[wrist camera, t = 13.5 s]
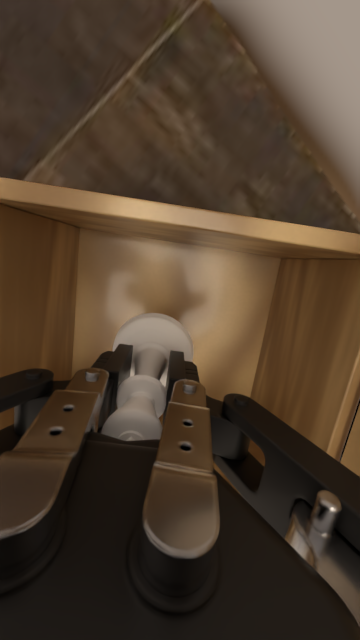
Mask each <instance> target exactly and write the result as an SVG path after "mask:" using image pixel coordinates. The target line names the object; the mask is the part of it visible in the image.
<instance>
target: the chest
mask: <svg viewBox="0 0 360 640" xmlns="http://www.w3.org/2000/svg"><path fill="white" fill-rule="evenodd" d="M145 313H160V314H164V315H167V316H170V317H172V318H174V319H175V320H177V321H178V322H180V323H181V324H182V325H183V326H184V327H185V329H186V330H187V331H188V333H189V335H190V337H191V340H192V343H193V349H194V354H193V360H192V362H193V363H194V364H195V365H196V366H197V370H198V375H199V380H200V383H201V384H202V385H203V386H204V387H205V389H206V395H207V396H209V397H211V398H213V399H216V400H220V401H223V400H224V396H225V395H227V394H230V393H237V394H242V395H245V396H248V397H250V398H251V399H253V400H254V401H256V402H257V403H258V404H260V405H261V406H263V407H264V408H265V409H267V410H268V411H269V412H271V413H272V414H274V415H275V416H276V417H278V418H279V419H281V420H282V421H283V422H285V423H286V424H287V425H289V426H290V427H292V428H293V429H294V430H296V431H297V432H298V433H300V434H301V435H303V436H304V437H305V438H307V439H308V440H310V441H311V442H312V443H314V444H315V445H316V446H318V447H319V448H321V449H322V450H323V451H325V452H326V453H327V454H329V455H330V456H332V457H333V458H334V459H336V460H337V461H338V462H339V460H340V456H341V453H342V450H343V447H344V444H345V441H346V438H347V435H348V432H349V429H350V426H351V423H352V420H353V417H354V414H355V411H356V408H357V405H358V402H359V399H360V234H356V233H350V232H343V231H337V230H331V229H324V228H318V227H312V226H305V225H299V224H293V223H287V222H280V221H274V220H268V219H261V218H255V217H249V216H242V215H236V214H230V213H223V212H217V211H211V210H204V209H198V208H192V207H186V206H179V205H173V204H167V203H160V202H154V201H148V200H141V199H135V198H129V197H122V196H116V195H110V194H104V193H97V192H91V191H85V190H78V189H72V188H66V187H59V186H53V185H47V184H40V183H34V182H28V181H21V180H15V179H9V178H3V177H0V377H3V376H7V375H10V374H13V373H16V372H20V371H23V370H27V369H33V368H42V369H47V370H50V371H52V372H53V373H54V381H64V380H71V379H72V378H73V376H74V374H75V373H76V372H77V371H78V370H81V369H84V368H91V366H92V365H93V364H94V362H96V360H97V359H98V357H99V356H100V355H101V354H102V353H104V352H106V351H112V349H113V344H114V340H115V337H116V335H117V333H118V331H119V330H120V328H121V327H122V326H123V325H124V324H125V323H126V322H127V321H129V320H130V319H132V318H133V317H136V316H138V315H141V314H145ZM159 420H160V422H161V425H162V421H163V414H162V415H161V416H160V417H159ZM12 424H14V407H13V408H11V409H8V410H6V411H4V412H1V413H0V430H1V429H3V428H6V427H8V426H10V425H12ZM162 428H163V427H162ZM248 451H249V452H250V453H251V454H252V455H253V456H254V457H255V458H256V459H257V460H258V461H259V462H260V463H261V464H262V465H263V466H264V465H265V457H264V454H263V452H262V450H261V449H260V448H259V447H258V446H257V445H256V444H255V443H254V442H253V441H252V440H250V444H249V449H248ZM212 454H213V453H212ZM213 468H214V469H215V470H216V471H217V472H218V473H219V474H220V475H221V476H222V477H223V478H224V479H225V480H226V481H227V482H228V483H229V484H230V485H231V486H232V487H233V488H234V489H235V490H236V488H235V487H234V486H233V485H232V483H231V482H230V481H229V480H228V479H227V477H226V476H225V475H224V474H223V473H222V471H221V470H220V469H219V468H218V466H217V465H216V464H215V463H214V461H213ZM236 491H237V490H236ZM237 492H238V491H237ZM238 493H239V492H238ZM239 494H240V493H239ZM240 495H241V494H240Z"/></svg>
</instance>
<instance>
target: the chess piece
mask: <svg viewBox="0 0 360 640" xmlns="http://www.w3.org/2000/svg"><path fill="white" fill-rule="evenodd" d="M119 344H127V345H133V354H132V363H131V372H130V377H129V378H127V379H125V380H124V381H123V382H122V383H121V384H120V386H119V387H118V390H117V397H116V404H117V408H118V409H117V410H116V411H115V412H114V413H113V414H111V415H110V416H109V418H108V419H107V420H106V422H105V423H104V425H103V428H102V432H101V434H104V435H107V436H111V437H114V438H117V439H120V440H124V441H136V440H152V439H159V440H160V437H161V433H162V429H163V428H162V425H161V422H160V420H159V417H160V416H161V415H162V414H163V412H164V410H165V407H166V396H167V391H166V388H165V386H166V379H167V372H168V365H169V358H170V351H171V350H172V351H180V352H184V361H190V362H192V360H193V354H194V349H193V343H192V340H191V337H190V335H189V333H188V331H187V330H186V329H185V327H184V326H183V325H182V324H181V323H180V322H178V321H177V320H175V319H174V318H172V317H170V316H167V315H164V314H160V313H145V314H141V315H138V316H136V317H133V318H132V319H130V320H129V321H127V322H126V323H125V324H124V325H123V326H122V327H121V328H120V330H119V331H118V333H117V335H116V337H115V340H114V344H113V349H112V351H115V349H116V348H117V346H118V345H119Z"/></svg>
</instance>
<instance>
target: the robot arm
mask: <svg viewBox="0 0 360 640" xmlns="http://www.w3.org/2000/svg"><path fill="white" fill-rule="evenodd" d="M132 354H133V345H127V344H119V345H118V346H117V348H116V349H115V351H106V352H104V353H102V354H101V355H100V356H99V357H98V359H97V360H96V362H94V364H93V365H92V366H91V368H84V369H81V370H78V371H77V372H76V373H75V374H74V376H73V378H72V379H71V380H64V381H54V373H53V372H52V371H50V370H47V369H42V368H33V369H27V370H23V371H20V372H16V373H13V374H10V375H7V376H3V377H0V413H1V412H4V411H6V410H8V409H11V408H13V407H14V424H12V425H10V426H8V427H6V428H3V429H1V430H0V640H360V477H359V476H358V475H356V474H355V473H354V472H352V471H351V470H350V469H348V468H347V467H345V466H344V465H343V464H341V463H340V462H338V461H337V460H336V459H334V458H333V457H332V456H330V455H329V454H327V453H326V452H325V451H323V450H322V449H321V448H319V447H318V446H316V445H315V444H314V443H312V442H311V441H310V440H308V439H307V438H305V437H304V436H303V435H301V434H300V433H298V432H297V431H296V430H294V429H293V428H292V427H290V426H289V425H287V424H286V423H285V422H283V421H282V420H281V419H279V418H278V417H276V416H275V415H274V414H272V413H271V412H269V411H268V410H267V409H265V408H264V407H263V406H261V405H260V404H258V403H257V402H256V401H254V400H253V399H251V398H250V397H248V396H245V395H242V394H237V393H230V394H227V395H225V396H224V400H223V401H220V400H216V399H213V398H211V397H209V396H207V395H206V389H205V387H204V386H203V385H202V384H201V383H200V380H199V375H198V370H197V366H196V365H195V364H194V363H193V362H190V361H184V352H180V351H172V350H171V351H170V358H169V365H168V372H167V379H166V386H165V388H166V391H167V396H166V407H165V410H164V412H163V421H162V427H163V429H162V433H161V437H160V440H159V439H152V440H136V441H124V440H120V439H117V438H114V437H111V436H107V435H104V434H101V432H102V428H103V425H104V423H105V422H106V420H107V419H108V418H109V416H110V415H111V414H113V413H114V412H115V411H116V410H117V409H118V408H117V404H116V397H117V390H118V387H119V386H120V384H121V383H122V382H123V381H124V380H125V379H127V378H129V377H130V372H131V363H132ZM250 440H252V441H253V442H254V443H255V444H256V445H257V446H258V447H259V448H260V449H261V450H262V452H263V454H264V457H265V465H264V466H263V465H262V464H261V463H260V462H259V461H258V460H257V459H256V458H255V457H254V456H253V455H252V454H251V453H250V452H249V451H248V449H249V444H250ZM212 453H213V454H212ZM213 461H214V463H215V464H216V465H217V466H218V468H219V469H220V470H221V471H222V473H223V474H224V475H225V476H226V477H227V479H228V480H229V481H230V482H231V483H232V485H233V486H234V487H235V488H236V490H237V491H238V492H239V493H240V494H241V495H240V494H239V493H238V492H237V491H236V490H235V489H234V488H233V487H232V486H231V485H230V484H229V483H228V482H227V481H226V480H225V479H224V478H223V477H222V476H221V475H220V474H219V473H218V472H217V471H216V470H215V469H214V468H213Z"/></svg>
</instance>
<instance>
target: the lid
mask: <svg viewBox="0 0 360 640" xmlns="http://www.w3.org/2000/svg"><path fill="white" fill-rule="evenodd" d="M340 463H341V464H343V465H344V466H345V467H347V468H348V469H350V470H351V471H352V472H354V473H355V474H356V475H358V476H359V477H360V405H359V408H358V411H357V414H356V417H355V420H354V423H353V426H352V429H351V432H350V435H349V438H348V441H347V444H346V447H345V450H344V453H343V456H342V459H341V462H340Z"/></svg>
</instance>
